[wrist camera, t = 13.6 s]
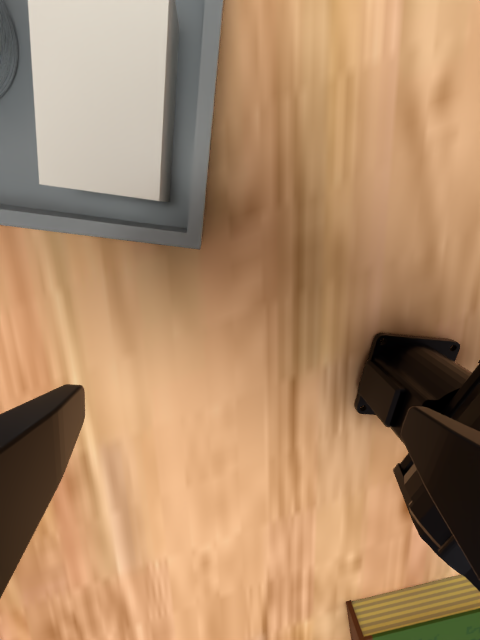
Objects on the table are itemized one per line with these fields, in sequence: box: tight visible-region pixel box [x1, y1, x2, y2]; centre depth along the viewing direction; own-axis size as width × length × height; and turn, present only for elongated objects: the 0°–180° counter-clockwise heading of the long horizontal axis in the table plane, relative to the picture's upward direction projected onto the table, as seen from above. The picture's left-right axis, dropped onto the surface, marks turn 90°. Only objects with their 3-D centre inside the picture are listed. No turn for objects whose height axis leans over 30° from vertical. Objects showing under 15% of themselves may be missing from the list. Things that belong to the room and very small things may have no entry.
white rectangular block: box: [28, 0, 179, 202], centre depth 15 cm, size 5×8×4 cm, turn 172°
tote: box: [0, 0, 224, 249], centre depth 14 cm, size 18×14×4 cm
